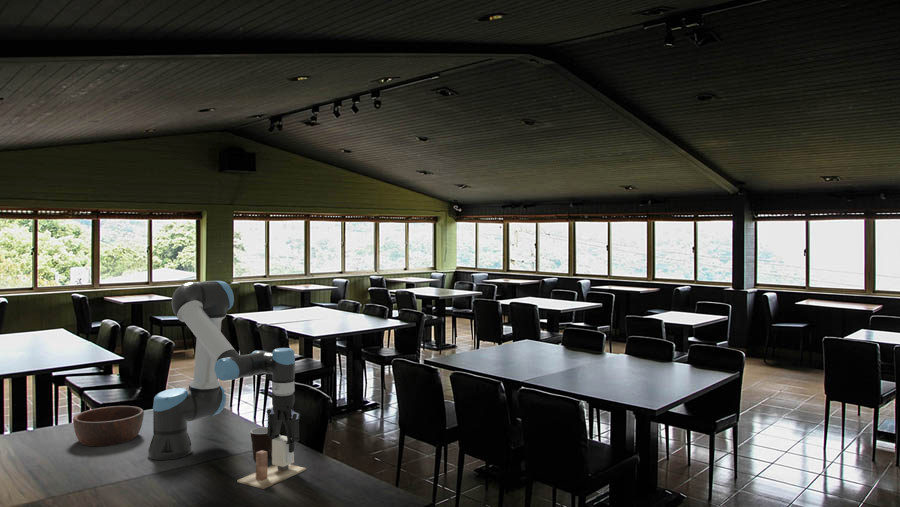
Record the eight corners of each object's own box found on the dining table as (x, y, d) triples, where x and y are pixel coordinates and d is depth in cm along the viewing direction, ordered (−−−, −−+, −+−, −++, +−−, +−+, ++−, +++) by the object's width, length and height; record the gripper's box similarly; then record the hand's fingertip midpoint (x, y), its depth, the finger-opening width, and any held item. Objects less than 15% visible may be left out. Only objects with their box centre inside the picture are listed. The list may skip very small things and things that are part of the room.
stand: (237, 481, 209) (237, 453, 209) (280, 463, 227) (280, 437, 226) (263, 489, 203) (263, 459, 203) (305, 469, 221) (306, 442, 221)
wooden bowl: (156, 436, 256) (156, 411, 256) (94, 453, 235) (94, 426, 235) (122, 426, 270) (122, 402, 270) (60, 441, 249) (60, 415, 249)
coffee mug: (267, 462, 228) (267, 434, 228) (245, 460, 230) (245, 433, 229) (282, 451, 239) (282, 425, 239) (261, 450, 241) (261, 424, 241)
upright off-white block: (272, 464, 218) (272, 439, 218) (282, 459, 223) (282, 435, 223) (283, 466, 216) (283, 442, 215) (293, 462, 220) (294, 437, 220)
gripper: (256, 392, 220) (256, 458, 220) (295, 399, 211) (295, 467, 211) (272, 388, 226) (271, 452, 227) (310, 394, 218) (310, 461, 218)
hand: (283, 459), depth 219 cm, fingers closed on upright off-white block, 5 cm apart
